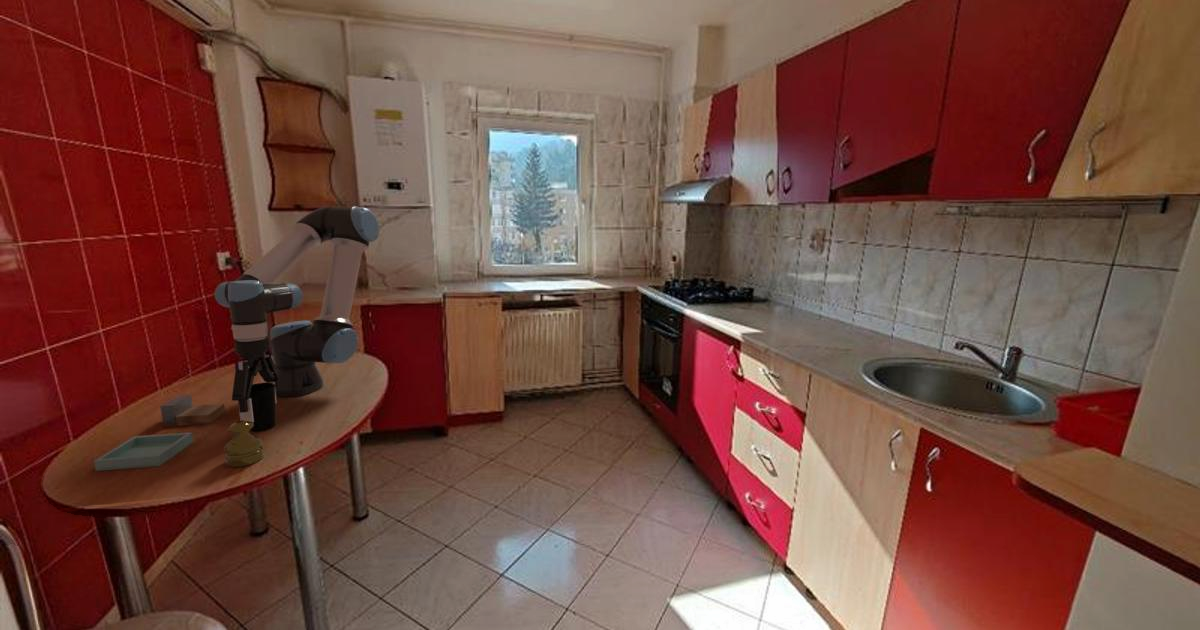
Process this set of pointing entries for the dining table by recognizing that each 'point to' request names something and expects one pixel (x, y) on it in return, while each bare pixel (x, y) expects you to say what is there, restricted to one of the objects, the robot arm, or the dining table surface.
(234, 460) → the olive yellow vase
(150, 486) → the dining table surface
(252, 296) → the robot arm
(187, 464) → the dining table surface
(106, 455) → the tray
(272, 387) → the cup
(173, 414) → the block
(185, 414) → the tan square block
